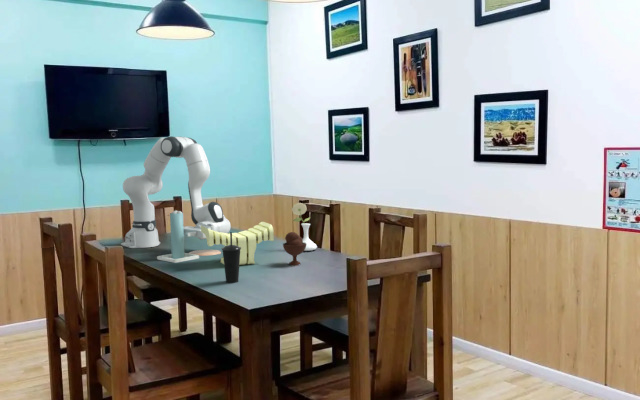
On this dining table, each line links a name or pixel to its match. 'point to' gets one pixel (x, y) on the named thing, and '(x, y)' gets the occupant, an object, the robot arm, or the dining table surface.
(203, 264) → the dining table surface
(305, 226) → the flower in vase
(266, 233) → the slatted curved stool
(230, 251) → the drinking cup
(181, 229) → the teal cylinder
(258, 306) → the dining table surface
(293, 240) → the ice cream bowl
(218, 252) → the terracotta plate
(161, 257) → the tray
